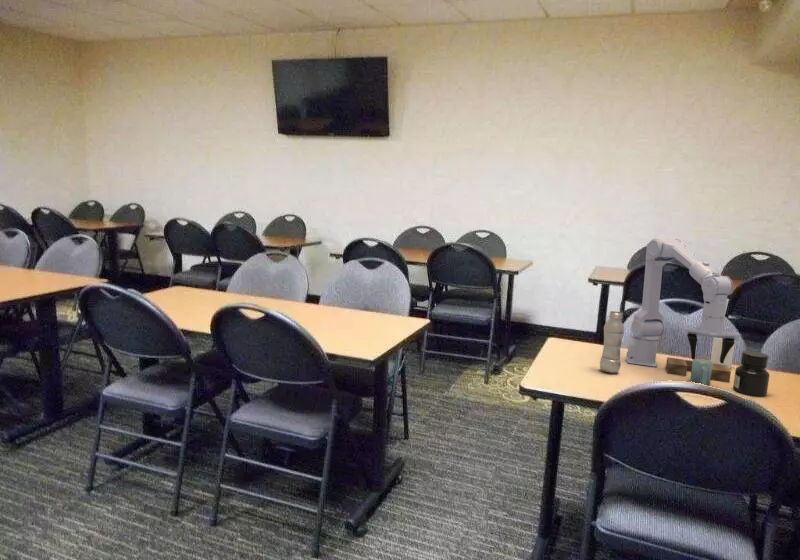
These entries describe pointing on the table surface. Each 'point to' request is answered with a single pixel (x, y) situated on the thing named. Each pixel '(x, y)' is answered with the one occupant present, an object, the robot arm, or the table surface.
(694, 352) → the robot arm
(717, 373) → the rack
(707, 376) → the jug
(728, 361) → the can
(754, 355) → the ink bottle
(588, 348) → the table surface
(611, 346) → the plastic bottle
